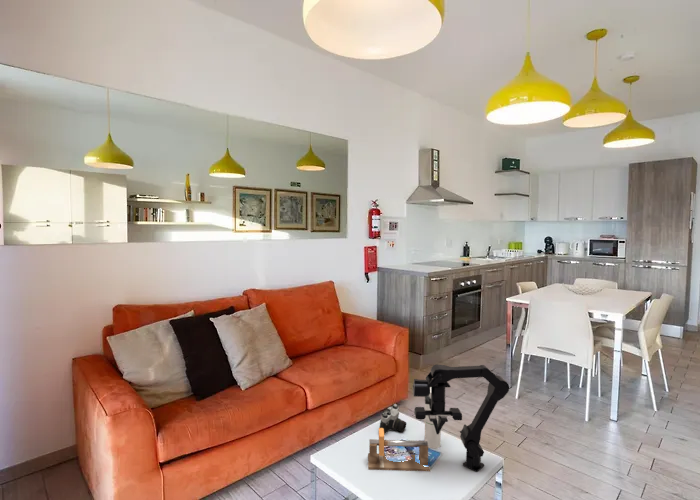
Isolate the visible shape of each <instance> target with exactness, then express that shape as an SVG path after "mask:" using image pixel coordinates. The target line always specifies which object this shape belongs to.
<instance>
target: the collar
mask: <svg viewBox="0 0 700 500" xmlns="http://www.w3.org/2000/svg"><path fill="white" fill-rule="evenodd" d="M378 440H379V446H378V454H379V456H384V454H385V446H384V440H385V434H384V428H379V427H378Z"/></svg>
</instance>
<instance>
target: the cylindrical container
mask: <svg viewBox="0 0 700 500" xmlns="http://www.w3.org/2000/svg"><path fill="white" fill-rule="evenodd" d="M429 397H430V398H431V387H430V394H429ZM424 409H425V410H431V409H430V406H429V404H425V403H424ZM436 419H437V424H438V416H436ZM441 435H442V429H441V430H440V433H439V434H437V433H436V430H435V427H434V424H433V422H431V421H430V420H429V417H428V415H426V418H425V419H424V441H427V442H428V449H429V448H430V449H434V450H436V449H440V447H441V445H442V444H441V442H442V439H441V438H442V437H441Z"/></svg>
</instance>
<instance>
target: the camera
mask: <svg viewBox="0 0 700 500" xmlns="http://www.w3.org/2000/svg"><path fill="white" fill-rule="evenodd" d="M399 415H400V407H399V406H398V405H397V404H396V403H394V404H393V405H392V406H389V407H387V409H386V410H385V411H384V410H383V411H382V412H381V418H380V423H379V427H378V429H379V428H384V435H385V434H386V433H388V432H389V431H391V430H393V429H394V430H396V431H399V432H401V433H404V431H405V430H406V428H407V422H406V421H405V420H402V419H401V418H399V417H400V416H399Z"/></svg>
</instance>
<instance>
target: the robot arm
mask: <svg viewBox="0 0 700 500" xmlns="http://www.w3.org/2000/svg"><path fill="white" fill-rule="evenodd" d="M469 378H471V379H473V378H483V379H485V380H486V381H487V382H488V385H487V392H486V396H485V397H484V399H483V401H482V403H481V404H480V407H479V408H478V410H477V412H476V414H475V416H474V418H473V419H472V420H471V423H469V424H468V425H466V424H464V425H463V427H462V429H461V430H460V431H459V433H460V435H459V437H460V440H461V443H462V445H463V447H464V448H465V450H466V454H465V455H466V456H465V461H464V462H462V465H463V466H464V467H466V468H468V469H470V470H472V471H474V472H476V473H477V472H479V471H480V470H481V469H482V468H483V467H484V466H485V464H484V463H482V457H483V456H484V454H485V451H484V449H483V448H482V446H481V444H480V442H481V437H482V431H483V429H484V428H485V425H487V422H488V420H489V418H490V416H491V415H492V413H493V411H494V409H495V407H496V405H497V403H498V402H499V401H501V400H502V399H504V398H505V397H506V396H507V394H508V393H509V391H510V384H509V383H508V382H507V381H506V380H505V379H504V377H502V376H500V375H499V374H498V375H496V374H495V373H494V372H493V371H492V370H490V369H489V368H488V367H487V365H484V364H480V365H469V366H468V365H467V366H450V365H449V366H448V365H446V364H438V363H437V364H433V365H432V366H431V368H430V371H429V373H428V374H427V375H426V377H425V379H417V378H414V379H413V382H412V396H413V397H415V398H416V397H420V398H424V405H425V404H429V406H430V409H431V410H425V406H415V407H414V410H413V413H414V417H415V419H416V420H425V418H426V415H428V417H429V420H430V421H431V422H433V424H434V427H435V430H436V433H437V434H439V433H440V430H441V431H442V428H443V427H444V426H445V424H446V423H448V422H449V420H448V417H452V419H453V421H463V414H462V412H461V410H460V409H459V408H458V407H449V410H446V388H451V384H450V382H449V381H452V380H454V379H455V380H456V379H469ZM430 387H431V398H430V397H429V394H430ZM436 416H438V424H437V419H436Z"/></svg>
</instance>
